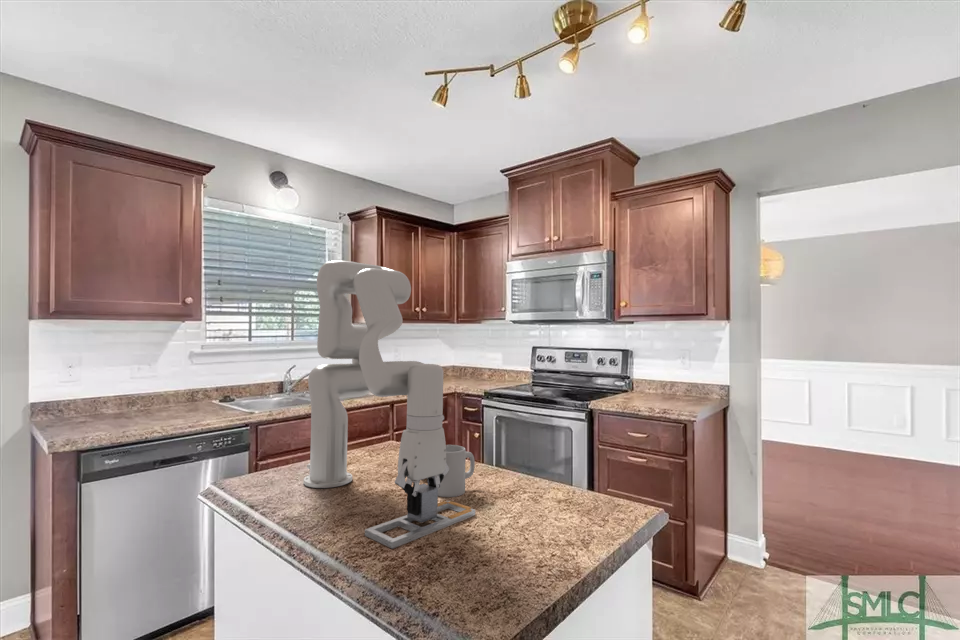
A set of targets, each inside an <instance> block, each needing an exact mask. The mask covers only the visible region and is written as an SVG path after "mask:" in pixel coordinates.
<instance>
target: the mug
mask: <svg viewBox="0 0 960 640" xmlns="http://www.w3.org/2000/svg"><path fill="white" fill-rule="evenodd" d="M467 458H469V461H470V462H469V463H470V465H469V470H468V471H466V460H467ZM475 463H476V462H475V456H474V454H473V453H472V452H471V451H466V448H465V446H461V445H457V444H446V464H447V465H448V467H449V471H448V472H447V474H446V475H445V476H444V478H443V480H442V482H441V483H440V485H441V486H440V488H439V489H438V497H441V498H455V497H460V496H463V495H464V494H465V493H466V479H469V478H471V477H472V476H473V475H474V472H475Z"/></svg>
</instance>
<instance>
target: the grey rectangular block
mask: <svg viewBox="0 0 960 640" xmlns="http://www.w3.org/2000/svg"><path fill="white" fill-rule="evenodd" d="M417 495H419V496H420V501H419V515H417V516H416V515H413V514H411V513H408V512H407V514H406V515H407V517H408V518H410V519H413V520H415V521H416V522H418V523H421V524H423V523H425V522H428V521H430V520H431V519H433V518H436V517H437V514H438V512H437V501H438V502H439V499H438V498H439V496H438V488H435V487H432V486H429V485H428V484H426V483H421V484H419V489H418V494H417Z"/></svg>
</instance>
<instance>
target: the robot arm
mask: <svg viewBox="0 0 960 640" xmlns="http://www.w3.org/2000/svg"><path fill="white" fill-rule="evenodd" d="M316 291H317V297H318V302H319V316H318V327H317V328H318V329H317V341H316V342H317V344H316V345H317V347H316V348H317V352H318V355H319V356H320V357H321V358H323V359H326V360H327V359H328V360H351V363H326V364H325V363H324V364H320V365H317V366H315V367H314V368H313V369H312V370H310V372H309V373H308V379H307V382H308V383H307V384H308V391H309V398H310V399H309V400H310V450H309V451H310V453H309V454H310V457H309V463H307V465H306V469H307V470H309V475H306V476H305V477H303V481H302V483H303V485H304V486H305V487H308V488H314V489H315V488H316V489H330V488H336V487H342V486H344V485H348V484H349V483H351V482H353V481H352V480H353V475H352V473H350V472H348V471H347V470H348V469H347V468H348V465H347V464H348V434H349V432H348V431H349V429H348V427H349V417H348V412H347V409H346V408H345V406H344V405H343V404H342V402H341V399H351V398H358V397H365V396H366V395H368V394H369V393H371V394H372V395H373V396H376V397H378V398H380V397H381V398H384V397H385V398H386V397H397V396H406V399H407V400H406V427H405V428H406V429H403V431H402V434H401V438H400V442H399V443H400V444H399V450H398V460H397V476H396V478H395V480H394V485H396V486H398V487H400V488H401V489H402V490H403V491H404V494H407V496H406V498H407V499H406V511H407V512H408V513H411V514H413V515H416V516H417V515H419V501H420V496H419V495H417V494H418V489H419V485H420V482H421V481H422V480H425V479H426V481H427V485H429V486H432V487H435V488H438V489H439V488H440V486H441V485H440V483H441V482H442V480H443V478H444V476H445V475H446V474H447V472H448V471H449V467H448V465H447V464H446V445H447V444H446V443H447V442H446V437H445V429H444V427H443V421H444V420H445V416H444V414H443V409H444V369H443V367H442V366H441V365H439V364H434V363H424V362H421V361H417V360H405V361H404V360H396V361H394V360H393V361H384V360H383V358H382V355H381V351H380V348H379V341H380V340H382V339H383V338H386V337H388V336H390V335H392V334H394V333H396V332H397V331H398V330H399V329H400V328H401V327H402V324H403V322H404V321H403V316H402V313H401V311H400V308H399V305H402V304H405V303H406V302H407V301H409V298H410V297H411V294H412V293H411V292H412V286H411V282H410V279H409V278H408V277H407V275H406V274H405V273H403V272H402V271H399V270H395V269H391V268H388V267H384V266H381V265H375V264H371V263H361V262H356V261H350V260H339V259H338V260H331V261H330V260H329V261H326V262H324V263H323V264H322V265H321V267H320V268H319V270H318V274H317V277H316ZM345 294H349V295H350V294H351V295H355V296H356V298H357V301H358V305H359V306H360V307H359V308H360V310H361V313H362V316H363V319H364V322H365V325H366V326H365V325H362V324H359V325H358V324H357V325H356V324H353V322H352V319H353V318H352V317H353V307H352V304H351V302H350V301H349V299H348V297H347V295H345ZM438 503H439V500H438V501H437V507H438Z"/></svg>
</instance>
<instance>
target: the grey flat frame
mask: <svg viewBox="0 0 960 640" xmlns="http://www.w3.org/2000/svg"><path fill="white" fill-rule="evenodd" d="M447 509H449V510H451V511H454V512H456V513H453V514H451V515H448V516H445V515H443V514H441V513H439V512H442V511H444V510H447ZM474 516H476V509H474V508H472V507H471V506H468V505H465V504H461V503H459V502H455V501H453V500H446V501H445V500H443V501H440V502H438V507H437V517H436V518H433V519H431V520H432V521H433V523H429V524H428V525H424V526H420V525H417V524H415V523H412V522H414V521H415V520H413V519H410V518H408V517H407V514H406V515H402V516H400V517H397V518H394V519H392V520H389V521H385V522H382V523H379V524H377V525H374V526H371V527H368V528H365V529H364V537H366V538H369V539H371V540H373V541H375V542H376V543H379V544H381V545H383V546H386V547H388V548H389V549H392V550H393V549H395V548H397V547H401V546H403V545H406V544H408V543H410V542H412V541H415V540H417V539H420V538H422V537H425V536H427V535H430V534H432V533H435V532H437V531H439V530H442V529H445V528H447V527H450V526H452V525H454V524H456V523H460V522H462V521H464V520H467V519H469V518H471V517H474ZM396 528H400V529H404V530H406V531H408V532H407V533H404V534H402V535H399V536H396V537H394V538H393V537H392V536H389V535H388V534H385V533H384V532H387V531H390V530H392V529H396Z"/></svg>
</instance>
